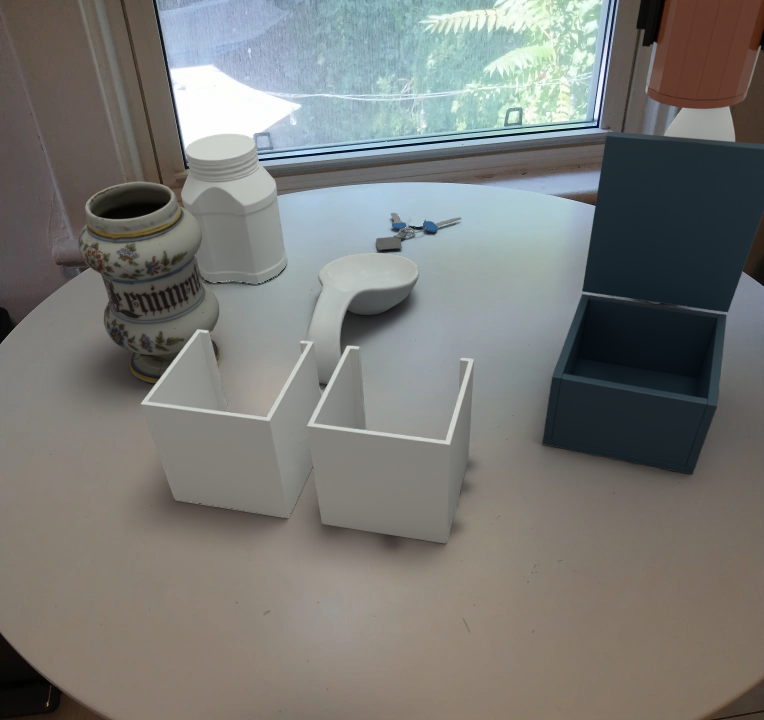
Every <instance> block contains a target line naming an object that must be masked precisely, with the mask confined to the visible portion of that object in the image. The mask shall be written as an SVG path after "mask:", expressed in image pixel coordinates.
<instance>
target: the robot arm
mask: <svg viewBox="0 0 764 720" xmlns="http://www.w3.org/2000/svg"><path fill="white" fill-rule="evenodd" d="M661 4H662V0H640V2H639V8H638V14H637V19H636V27H635V29H636V30H642V31H643V30H644V33H643V38H642V44H641V47H647V48H648V47H649V48H650V47H651V46H653V44H654V40H655V35H656V30H657V25H658V20H659V14H660V9H661ZM760 51H762V53H763V54H764V37H763V40H762V44H761V48H760Z"/></svg>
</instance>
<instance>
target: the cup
mask: <svg viewBox="0 0 764 720" xmlns="http://www.w3.org/2000/svg"><path fill="white" fill-rule="evenodd" d="M763 37H764V0H662V4H661V9H660V14H659V20H658V25H657V30H656V35H655V40H654V43H653V45H652V49H651V50H652V51H651V55H650V62H649V66H648V71H647V76H646V80H645V81H646V86H645V94H646V96H647V97H648V98H650V99H651V100H653V101H655V102H657V103H660V104H663V105H667V106H671V107H676V108H681V109H682V108H691V109H713V108H722V107H728V106H729V107H731V106H735V105H738V104H739V103H741V102H743V101H744V100H745V99H746V98H747V94H748V91H749V88H750V86H751V83H752V79H753V76H754V72H755V68H756V65H757V61H758V59H759V55H760V52H761V44H762V40H763Z"/></svg>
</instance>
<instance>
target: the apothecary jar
mask: <svg viewBox="0 0 764 720" xmlns="http://www.w3.org/2000/svg"><path fill="white" fill-rule="evenodd" d="M84 210H85V212H84V213H85V216H86V223H85V225H84V226H83V227H82V230H81V232H80V234H79V238H78V243H77V244H78V251H79V254H80V256H81V259H82V260H83V262H84V263H85V264H86V265H87V266H88V267H89V268H90V269H92V270H93V271H95V272H97V273H99V274H100V275H101V278H102V281H103V284H104V287H105V291H106V293H107V298H108V302H107V304H106V306H105V309H104V311H103V312H104V313H103V325H104V328H105V331H106V333H107V335H108V336H109V338H110V339H111V341H113V343H115V344H116V345H117V346H118V347H120V348H123V349H125V350H127V351H129V352H132V355H131V357H130V359H129V370H130V371H131V373H132V374H133V375H134V376H135V377H136V378H137V379H139V380H141V381H143V382H146V383H150V384H154V385H155V384H156V383H157V382H158V380H159V379H160V378H161V376H162V375H163V374H164V373H165V371H166V370H167V369H168V367H169V366H170V365H171V363H172V362H173V361H174V359H175V358H176V357H177V355H178V354H179V353H180V352H181V350H182V349H183V348H184V346H185V345H186V344H187V342H188V341H189V340H190V338H191V337H192V336H193V334H194V333H195V332H196V331H197V329H199V330H208V331H209V333H210V334H211V332H212V331H213V330H214V329H215V327H216V325H217V323H218V320H219V317H220V303H219V300H218V297H217V296H216V294H215V293H214V291H213V290H212V289H211V288H210V287H209V286H208V285H207V284H205V283H203V282H202V280H201V275H200V272H199V268H198V263H197V259H196V253H197V251H198V249H199V247H200V244H201V240H202V231H201V227H200V225H199V223H198V221H197V220H196V218H195V217H194V216H193V215H192V214H191V213H190V212H189V211H187V210H186V209H185V207H183V206H181V205H180V203H179V202H178V198H177V195H176V193H175V192H174V190H173V189H172V188H170V187H169V186H167V185H164V184H161V183H159V182H154V181H130V182H125V183H119V184H116V185H112V186H108V187H106V188H104V189H102V190H99V191H97V192H96V193H95V194H93V195H92V196H91V197H90V198H88V200H87V201H86V203H85V206H84ZM211 341H212V345H213V349H214V353H215V357H216V361H218V360H219V356H220V349H219V347H218V344H217V343H216V342H215V341H214V340H213V339H212V338H211Z"/></svg>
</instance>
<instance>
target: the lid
mask: <svg viewBox="0 0 764 720" xmlns="http://www.w3.org/2000/svg"><path fill="white" fill-rule="evenodd" d="M604 141H605V142H604V146H603V147H604V148H603V154H602V159H601V167H600V172H599V173H600V174H599V180H598V187H597V193H596V199H595V205H594V214H593V219H592V226H591V232H590V238H589V245H588V251H587V258H586V262H585V263H586V265H585V269H584V270H585V272H584V276H583V283H582V293H589V294H594V295H595V294H596V295H602V296H610V297H617V298H624V299H629V300H630V299H631V300H639V301H644V302H647V301H651V302H658V303H660V304H666V305H672V306H679V307H685V308H686V307H687V308H693V309H700V310H708V311H715V312H721V313H729V311H730V308H731V305H732V302H733V300H734V297H735V294H736V291H737V288H738V286H739V283H740V280H741V277H742V274H743V271H744V268H745V266H746V262H747V260H748V257H749V255H750V252H751V249H752V246H753V244H754V240H755V237H756V235H757V232H758V229H759V226H760V224H761V221H762V218H763V215H764V143H752V142H742V141H735V142H730V141H718V140H706V139H694V138H682V137H670V136H664V135H656V134H645V133H633V132H618V131H611V130H610V131H607V133H606V136H605V140H604Z"/></svg>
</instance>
